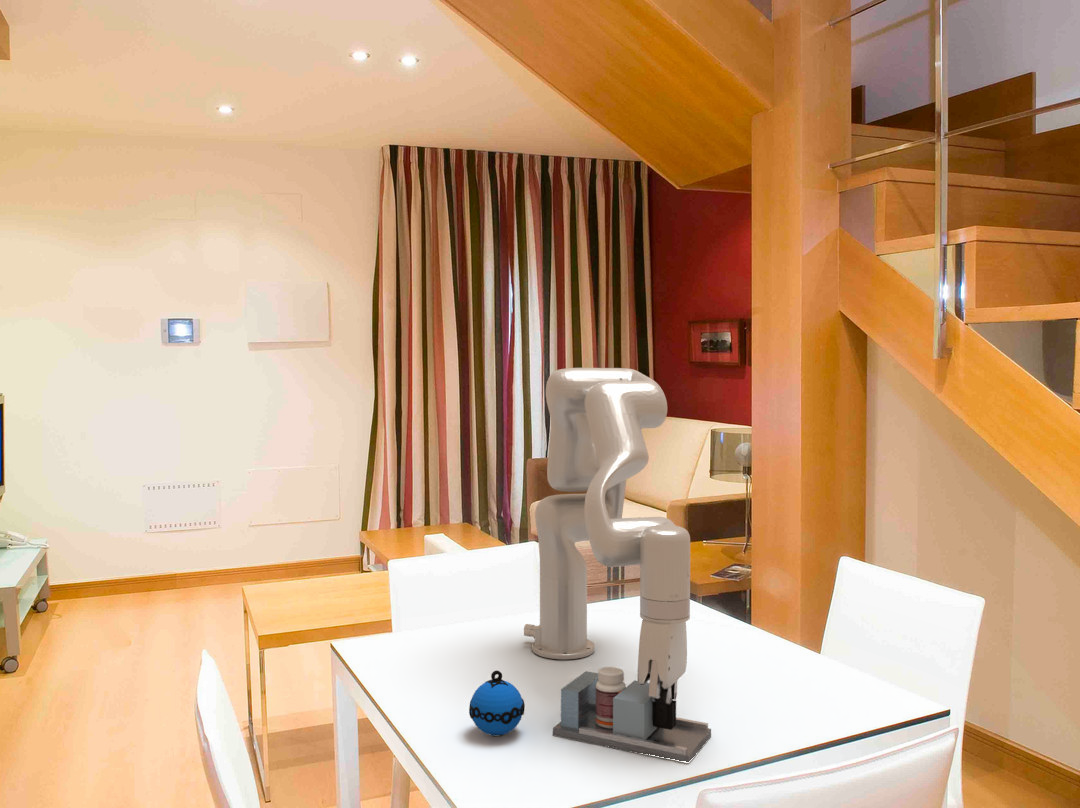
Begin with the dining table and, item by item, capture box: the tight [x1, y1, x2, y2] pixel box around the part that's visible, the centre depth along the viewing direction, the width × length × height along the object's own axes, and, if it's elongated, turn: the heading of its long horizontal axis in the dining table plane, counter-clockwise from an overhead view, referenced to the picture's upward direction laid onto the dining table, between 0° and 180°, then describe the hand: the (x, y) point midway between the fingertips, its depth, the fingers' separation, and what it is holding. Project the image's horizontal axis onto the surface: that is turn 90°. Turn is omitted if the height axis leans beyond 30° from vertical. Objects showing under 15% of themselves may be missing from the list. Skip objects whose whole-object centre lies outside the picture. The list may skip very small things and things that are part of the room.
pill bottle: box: [596, 666, 627, 729], centre depth 143 cm, size 5×5×8 cm
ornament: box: [468, 670, 526, 737], centre depth 142 cm, size 9×9×10 cm
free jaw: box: [613, 679, 658, 739], centre depth 140 cm, size 5×9×6 cm, turn 153°
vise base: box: [552, 670, 712, 762], centre depth 141 cm, size 22×11×7 cm, turn 62°
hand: (664, 726), depth 139 cm, fingers closed
